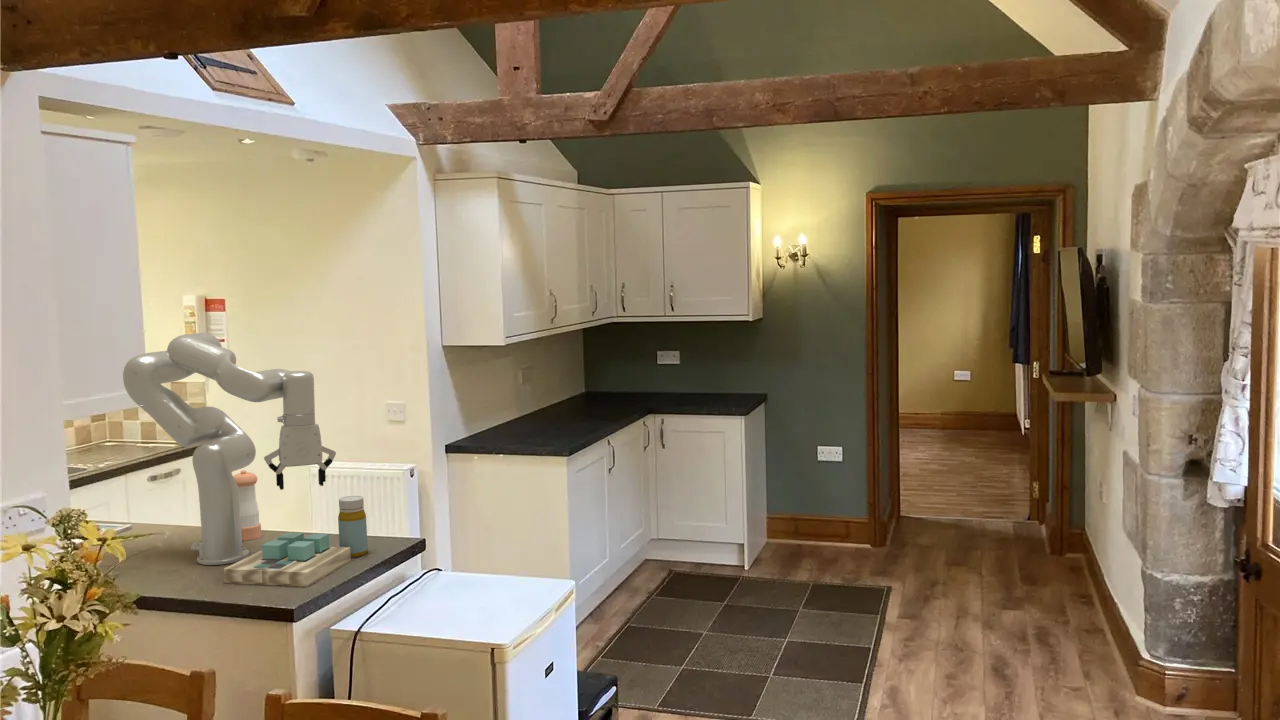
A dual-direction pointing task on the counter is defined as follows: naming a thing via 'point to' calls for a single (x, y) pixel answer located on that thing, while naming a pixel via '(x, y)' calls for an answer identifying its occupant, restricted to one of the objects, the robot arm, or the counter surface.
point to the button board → (287, 568)
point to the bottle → (353, 525)
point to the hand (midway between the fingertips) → (301, 486)
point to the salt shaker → (248, 505)
